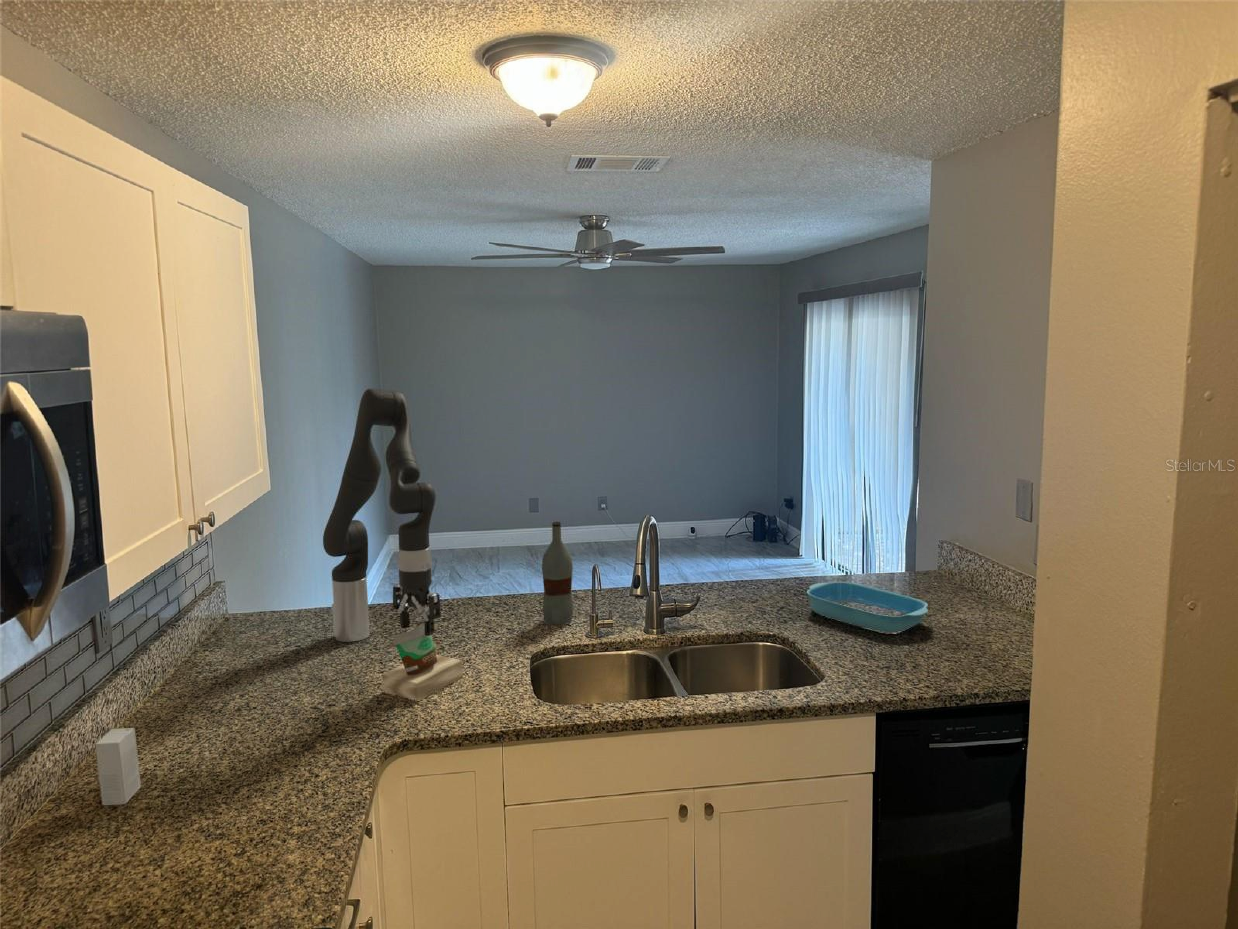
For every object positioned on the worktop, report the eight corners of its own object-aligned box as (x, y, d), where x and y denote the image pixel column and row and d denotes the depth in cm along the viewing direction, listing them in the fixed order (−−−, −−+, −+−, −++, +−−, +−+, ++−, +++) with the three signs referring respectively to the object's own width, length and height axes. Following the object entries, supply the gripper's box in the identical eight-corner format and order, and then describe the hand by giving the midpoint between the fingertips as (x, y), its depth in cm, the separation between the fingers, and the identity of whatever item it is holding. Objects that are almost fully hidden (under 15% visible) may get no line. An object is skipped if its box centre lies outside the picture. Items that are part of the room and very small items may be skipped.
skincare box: (117, 788, 156) (111, 728, 155) (141, 787, 157) (135, 727, 155) (100, 806, 150) (94, 743, 149) (125, 805, 151) (119, 742, 149)
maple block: (383, 694, 199) (382, 674, 198) (429, 671, 213) (428, 652, 212) (417, 704, 194) (417, 683, 193) (462, 679, 207) (462, 660, 207)
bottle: (556, 614, 255) (554, 518, 251) (580, 619, 250) (578, 521, 246) (536, 622, 248) (534, 523, 243) (560, 628, 242) (558, 527, 238)
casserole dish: (942, 626, 243) (943, 602, 242) (902, 645, 228) (903, 619, 227) (833, 598, 270) (834, 576, 269) (791, 613, 255) (792, 590, 254)
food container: (426, 672, 194) (413, 632, 194) (404, 677, 196) (391, 637, 196) (451, 653, 206) (439, 615, 206) (430, 658, 208) (418, 620, 207)
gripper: (382, 564, 200) (385, 629, 202) (423, 574, 192) (425, 642, 194) (407, 558, 206) (409, 621, 208) (447, 567, 198) (449, 633, 200)
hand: (417, 631), depth 201 cm, fingers open, 8 cm apart
